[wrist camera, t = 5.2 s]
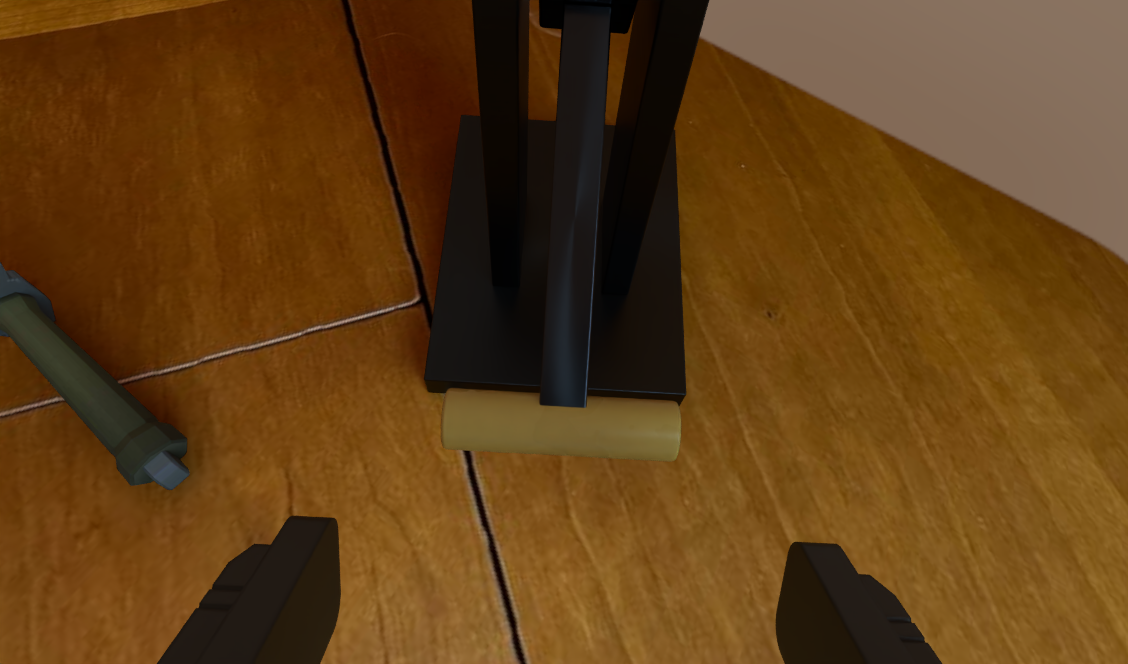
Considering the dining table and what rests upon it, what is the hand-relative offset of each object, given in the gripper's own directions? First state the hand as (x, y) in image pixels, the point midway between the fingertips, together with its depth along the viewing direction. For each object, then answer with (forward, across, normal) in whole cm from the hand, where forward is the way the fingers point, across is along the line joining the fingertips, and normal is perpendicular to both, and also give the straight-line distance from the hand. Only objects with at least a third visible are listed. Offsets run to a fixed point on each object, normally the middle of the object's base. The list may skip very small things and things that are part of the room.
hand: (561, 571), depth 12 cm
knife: (+14, +19, +1) cm, 24 cm away
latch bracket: (+17, 0, -2) cm, 17 cm away
